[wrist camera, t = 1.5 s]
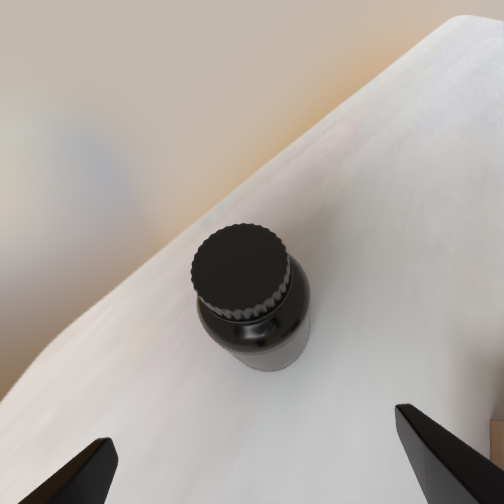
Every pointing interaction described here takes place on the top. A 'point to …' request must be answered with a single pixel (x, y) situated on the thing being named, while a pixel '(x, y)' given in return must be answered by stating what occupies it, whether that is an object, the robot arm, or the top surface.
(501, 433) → the walnut block
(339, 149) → the top surface
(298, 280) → the supplement bottle
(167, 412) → the top surface
